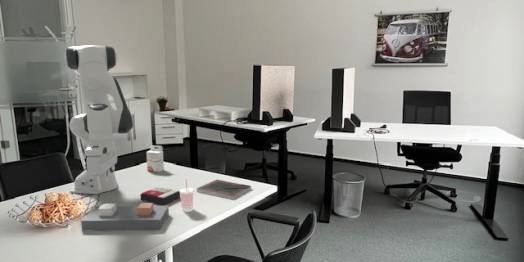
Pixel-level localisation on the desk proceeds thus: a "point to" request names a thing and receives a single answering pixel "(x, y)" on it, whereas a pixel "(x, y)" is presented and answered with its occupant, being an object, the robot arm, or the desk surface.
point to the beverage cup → (186, 198)
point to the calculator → (160, 195)
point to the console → (126, 219)
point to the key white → (107, 210)
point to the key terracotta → (145, 209)
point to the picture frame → (224, 189)
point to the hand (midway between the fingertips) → (105, 180)
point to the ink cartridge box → (155, 159)
